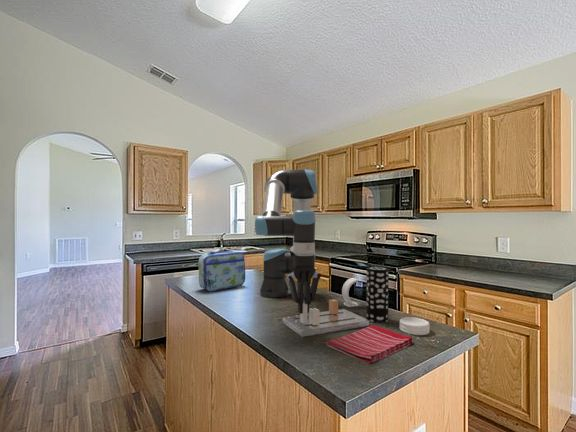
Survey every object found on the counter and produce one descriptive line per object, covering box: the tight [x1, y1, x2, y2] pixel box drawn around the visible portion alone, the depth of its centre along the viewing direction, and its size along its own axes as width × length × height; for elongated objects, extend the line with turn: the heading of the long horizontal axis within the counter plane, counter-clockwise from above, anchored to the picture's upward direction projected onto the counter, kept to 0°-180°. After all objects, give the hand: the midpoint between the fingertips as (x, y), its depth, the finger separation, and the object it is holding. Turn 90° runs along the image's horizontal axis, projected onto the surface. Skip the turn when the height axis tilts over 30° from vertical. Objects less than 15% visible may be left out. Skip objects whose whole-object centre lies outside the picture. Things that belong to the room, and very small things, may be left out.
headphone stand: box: [341, 277, 359, 308], centre depth 145 cm, size 5×6×12 cm
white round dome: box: [399, 316, 431, 336], centre depth 113 cm, size 10×10×4 cm
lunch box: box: [197, 250, 246, 293], centre depth 178 cm, size 26×11×21 cm, turn 130°
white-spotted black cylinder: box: [365, 266, 390, 324], centre depth 125 cm, size 8×8×20 cm
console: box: [282, 308, 370, 338], centre depth 119 cm, size 16×28×2 cm, turn 114°
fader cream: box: [308, 307, 320, 325], centre depth 112 cm, size 3×2×5 cm
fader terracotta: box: [328, 298, 339, 314], centre depth 125 cm, size 3×2×5 cm
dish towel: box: [325, 324, 414, 365], centre depth 100 cm, size 17×24×3 cm
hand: (303, 322), depth 111 cm, fingers closed
